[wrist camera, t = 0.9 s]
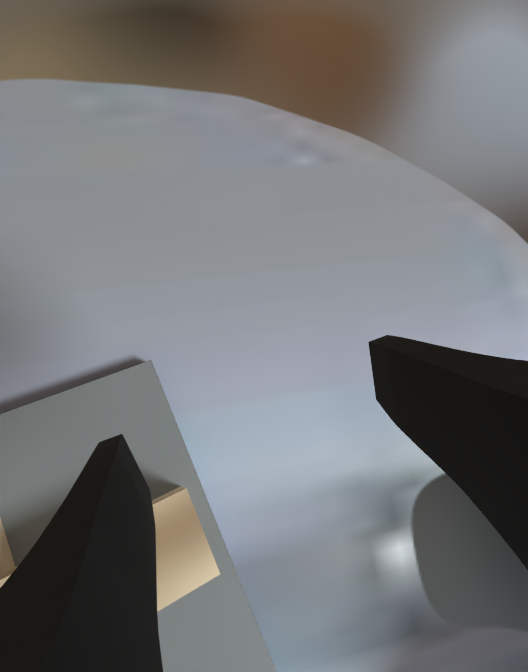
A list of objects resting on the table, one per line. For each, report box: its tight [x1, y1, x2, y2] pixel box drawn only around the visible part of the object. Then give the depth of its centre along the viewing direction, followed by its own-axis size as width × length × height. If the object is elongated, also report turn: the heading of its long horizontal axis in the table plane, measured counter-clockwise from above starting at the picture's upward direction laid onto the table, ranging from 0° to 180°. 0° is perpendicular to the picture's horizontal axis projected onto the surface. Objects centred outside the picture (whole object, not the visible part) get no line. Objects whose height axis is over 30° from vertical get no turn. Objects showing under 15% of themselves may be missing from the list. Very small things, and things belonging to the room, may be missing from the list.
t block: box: [0, 486, 220, 612], centre depth 18 cm, size 12×12×3 cm
